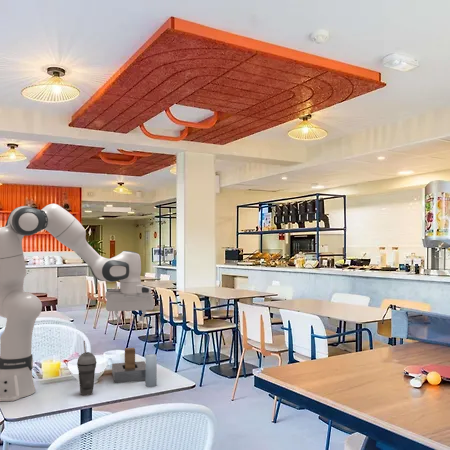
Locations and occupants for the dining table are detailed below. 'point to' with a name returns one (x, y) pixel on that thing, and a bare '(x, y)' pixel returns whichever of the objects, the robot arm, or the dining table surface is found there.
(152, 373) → the round peg
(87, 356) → the beverage cup
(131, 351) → the square peg
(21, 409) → the dining table surface
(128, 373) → the bore block
